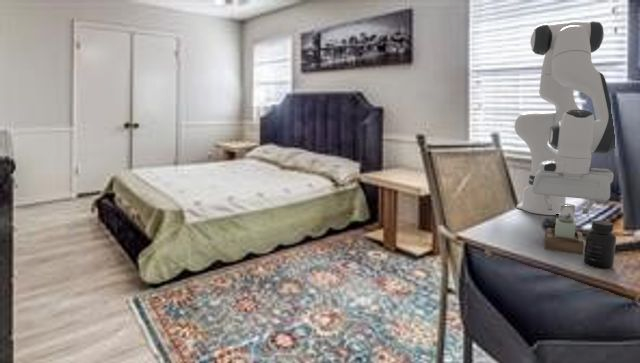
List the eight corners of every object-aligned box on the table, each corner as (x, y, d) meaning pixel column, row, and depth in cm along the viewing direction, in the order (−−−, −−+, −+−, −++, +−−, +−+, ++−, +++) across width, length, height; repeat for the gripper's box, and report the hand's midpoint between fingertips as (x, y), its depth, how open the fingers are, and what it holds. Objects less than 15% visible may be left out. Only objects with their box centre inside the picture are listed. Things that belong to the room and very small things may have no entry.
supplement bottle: (590, 258, 124) (596, 217, 122) (617, 266, 119) (623, 223, 116) (578, 263, 121) (583, 221, 118) (604, 271, 115) (611, 228, 113)
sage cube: (554, 233, 136) (556, 218, 135) (572, 235, 134) (574, 220, 133) (554, 238, 132) (556, 222, 131) (573, 240, 130) (575, 224, 129)
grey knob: (558, 218, 135) (560, 203, 134) (573, 220, 133) (575, 204, 132) (558, 222, 131) (560, 206, 130) (574, 223, 129) (576, 207, 128)
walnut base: (544, 239, 140) (546, 227, 139) (580, 244, 136) (582, 231, 135) (544, 248, 132) (546, 236, 131) (583, 254, 127) (584, 241, 126)
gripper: (613, 167, 127) (606, 213, 130) (534, 162, 136) (530, 205, 139) (616, 170, 121) (609, 218, 124) (534, 165, 130) (529, 209, 133)
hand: (567, 211), depth 132 cm, fingers open, 8 cm apart
